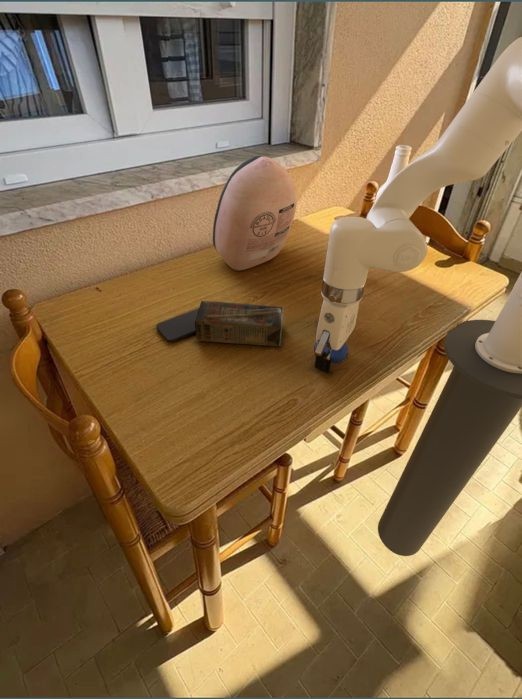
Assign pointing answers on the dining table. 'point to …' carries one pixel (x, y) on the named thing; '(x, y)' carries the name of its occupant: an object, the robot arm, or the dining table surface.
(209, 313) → the beverage carton
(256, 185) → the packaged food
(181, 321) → the phone
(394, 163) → the alcohol
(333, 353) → the jar lid
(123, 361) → the dining table surface
